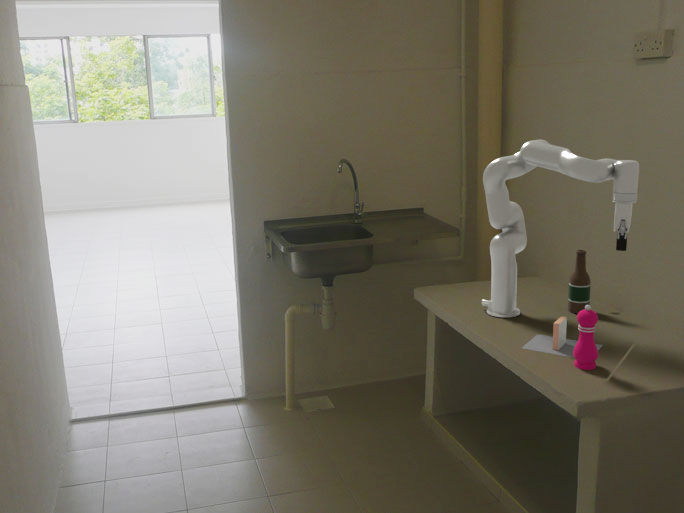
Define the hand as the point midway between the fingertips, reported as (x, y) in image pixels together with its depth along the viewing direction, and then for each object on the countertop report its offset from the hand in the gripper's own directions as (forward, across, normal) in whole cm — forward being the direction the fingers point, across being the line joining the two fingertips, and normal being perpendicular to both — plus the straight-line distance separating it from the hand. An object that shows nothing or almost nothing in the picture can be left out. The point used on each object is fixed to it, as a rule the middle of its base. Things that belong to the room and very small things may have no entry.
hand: (621, 247), depth 234 cm
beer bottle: (+31, -22, -14) cm, 40 cm away
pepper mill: (+31, +37, -8) cm, 48 cm away
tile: (+30, +21, -17) cm, 40 cm away
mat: (+31, +22, -16) cm, 41 cm away
